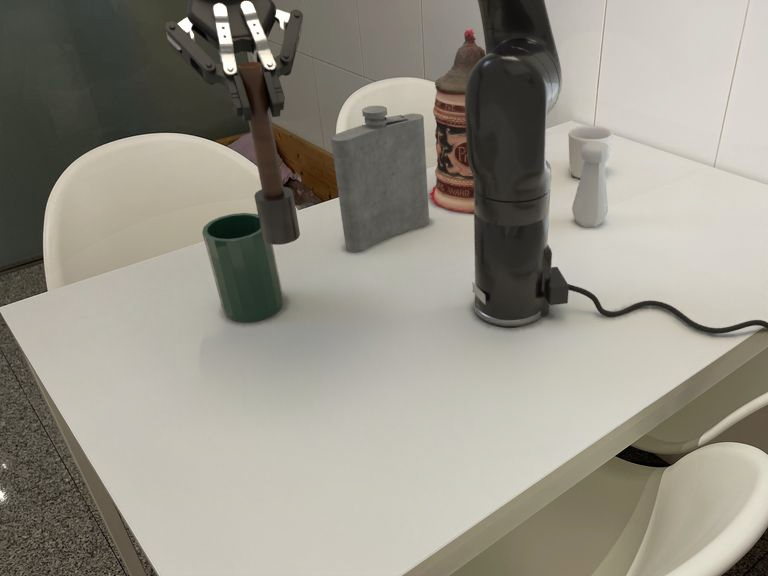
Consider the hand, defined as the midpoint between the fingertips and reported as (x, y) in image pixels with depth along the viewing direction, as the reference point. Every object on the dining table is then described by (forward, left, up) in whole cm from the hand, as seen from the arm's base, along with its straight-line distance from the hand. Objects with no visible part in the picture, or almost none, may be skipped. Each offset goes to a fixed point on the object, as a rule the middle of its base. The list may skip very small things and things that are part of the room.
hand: (262, 114), depth 67 cm
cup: (-52, -48, -30) cm, 77 cm away
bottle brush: (+1, -2, -14) cm, 14 cm away
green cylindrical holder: (+7, -15, -30) cm, 34 cm away
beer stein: (-30, -46, -30) cm, 62 cm away
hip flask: (-13, -33, -30) cm, 46 cm away
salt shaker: (-46, -30, -30) cm, 62 cm away
